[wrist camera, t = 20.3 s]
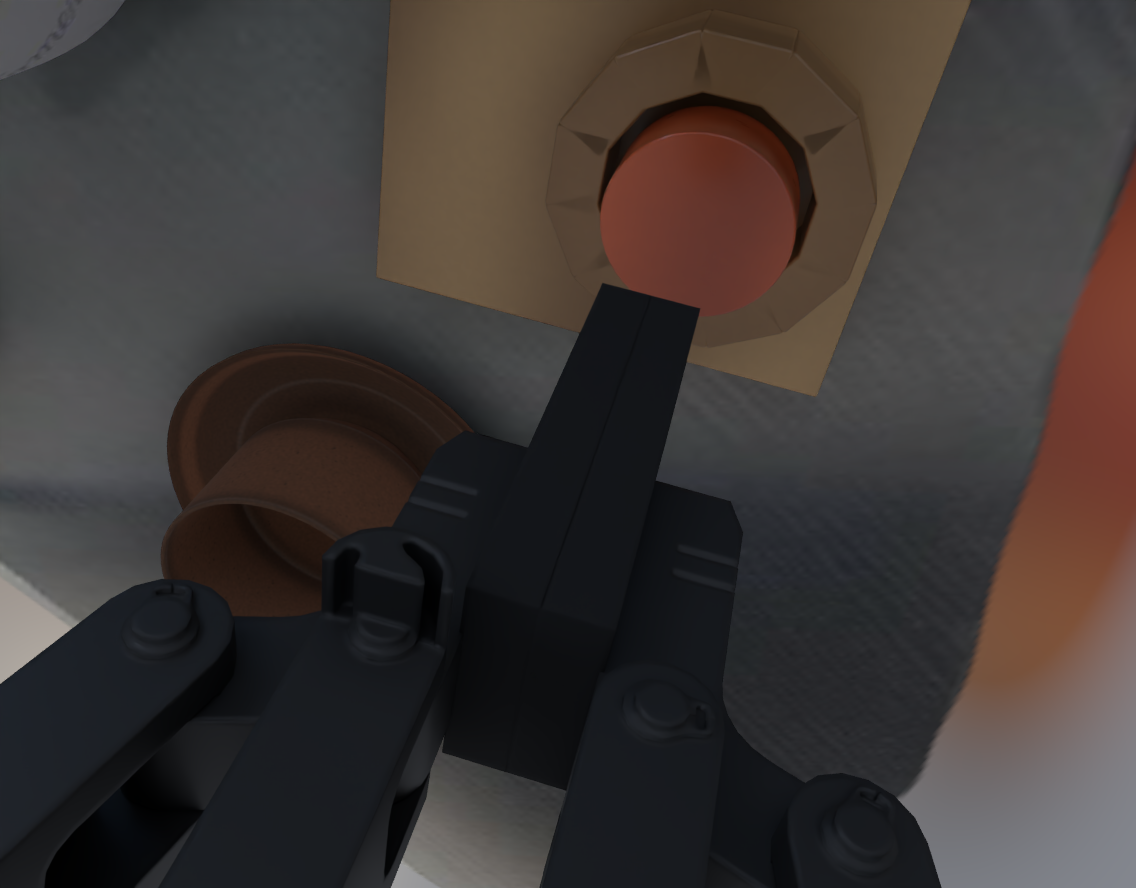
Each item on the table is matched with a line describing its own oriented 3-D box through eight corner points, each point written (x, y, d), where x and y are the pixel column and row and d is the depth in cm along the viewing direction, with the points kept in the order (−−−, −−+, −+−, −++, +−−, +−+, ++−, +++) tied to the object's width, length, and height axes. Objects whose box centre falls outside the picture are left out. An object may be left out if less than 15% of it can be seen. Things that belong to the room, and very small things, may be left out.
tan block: (405, 244, 28) (347, 309, 25) (434, -159, 22) (362, -142, 19) (819, 355, 27) (813, 437, 24) (968, -38, 21) (988, 2, 18)
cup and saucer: (452, 652, 38) (391, 788, 33) (168, 502, 37) (62, 619, 32) (592, 443, 31) (541, 577, 26) (243, 248, 29) (121, 349, 25)
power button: (600, 256, 23) (584, 290, 21) (636, 84, 20) (619, 109, 19) (769, 301, 22) (763, 338, 21) (826, 131, 20) (823, 160, 19)
